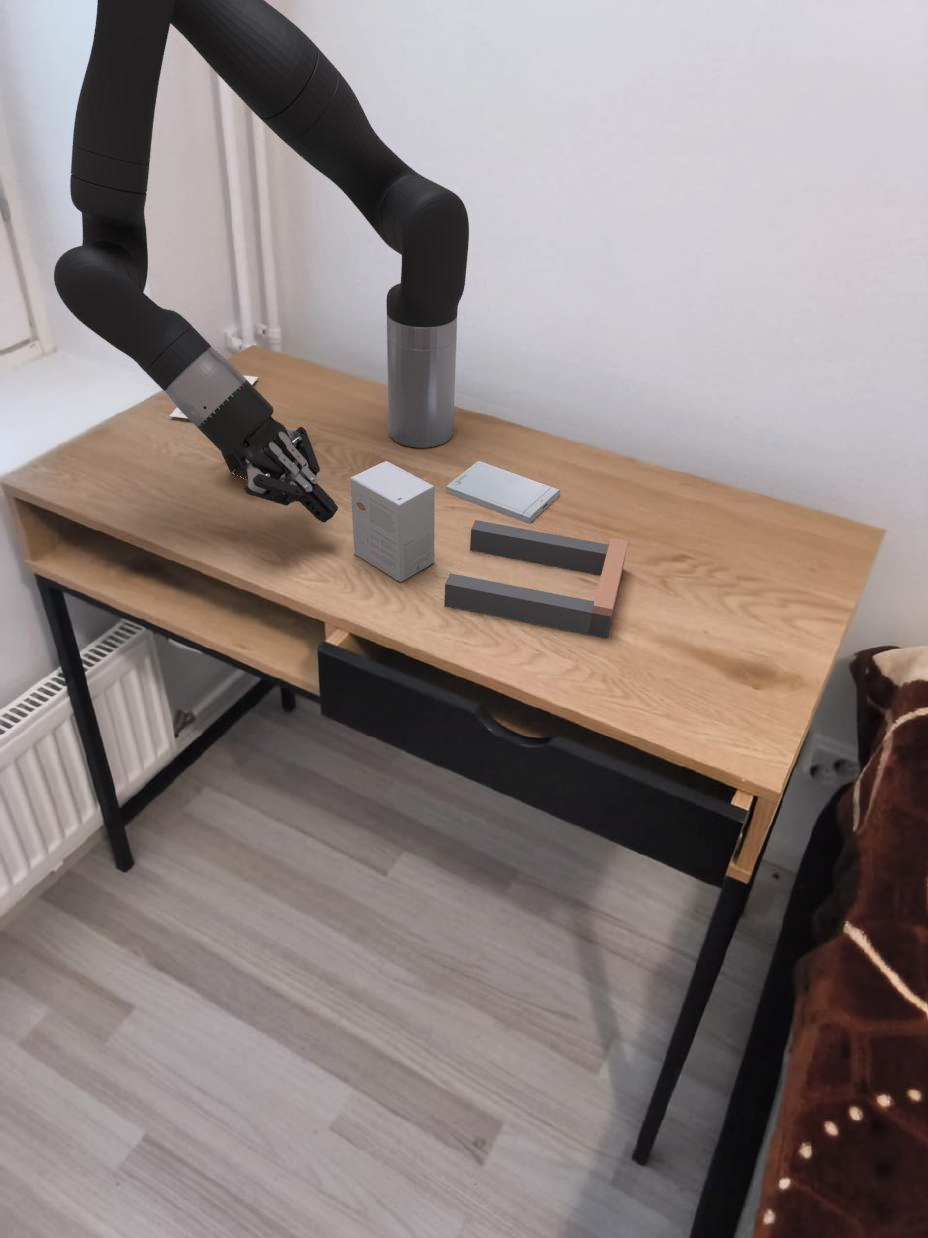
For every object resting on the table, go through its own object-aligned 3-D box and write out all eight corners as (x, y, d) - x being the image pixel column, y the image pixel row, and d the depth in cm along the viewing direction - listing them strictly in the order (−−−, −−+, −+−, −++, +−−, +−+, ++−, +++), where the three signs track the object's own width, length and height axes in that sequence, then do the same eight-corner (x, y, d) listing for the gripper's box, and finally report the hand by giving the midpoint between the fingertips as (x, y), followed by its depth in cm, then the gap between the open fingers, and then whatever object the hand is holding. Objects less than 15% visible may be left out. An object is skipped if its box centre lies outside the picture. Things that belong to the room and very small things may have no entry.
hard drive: (445, 485, 118) (530, 515, 113) (479, 459, 123) (561, 487, 118) (445, 496, 119) (529, 527, 114) (478, 470, 124) (559, 498, 119)
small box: (435, 564, 106) (437, 486, 100) (400, 584, 103) (399, 505, 96) (387, 535, 110) (386, 458, 104) (352, 554, 107) (349, 476, 101)
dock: (474, 540, 110) (475, 512, 108) (623, 568, 107) (628, 540, 105) (444, 605, 101) (445, 576, 98) (607, 638, 97) (612, 609, 95)
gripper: (210, 409, 93) (330, 532, 98) (265, 357, 102) (372, 471, 108) (171, 447, 97) (288, 562, 103) (228, 394, 107) (332, 501, 112)
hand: (331, 515), depth 105 cm, fingers closed
